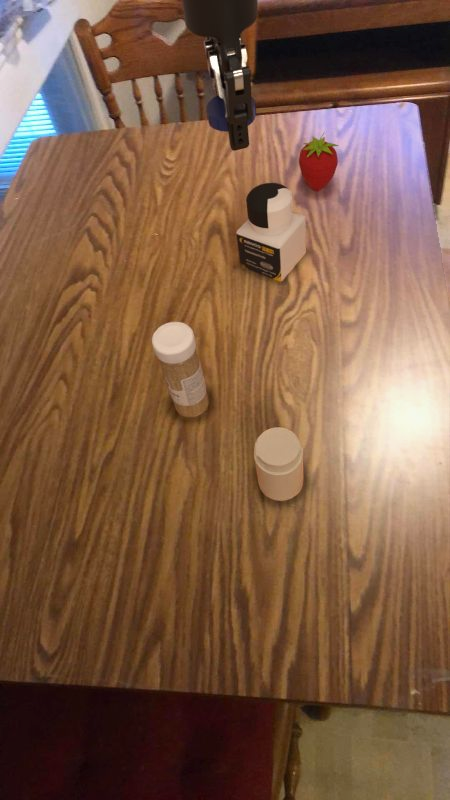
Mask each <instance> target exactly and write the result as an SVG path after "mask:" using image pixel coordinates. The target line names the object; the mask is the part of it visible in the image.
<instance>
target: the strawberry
mask: <svg viewBox="0 0 450 800" xmlns="http://www.w3.org/2000/svg"><path fill="white" fill-rule="evenodd" d="M324 135H325V131H324V132H323V133H322V134H321V136H320V138H319V139H317V138H316V137H315V136H312V141H309V142H303V145H304V146H303V147H302V149H301V150H300V152H299V156H298V166H299V169H300V174H301V176H302V177H303V179H304V180H305V182H306V184H307V185H308V186H309V187H310V188H311V190H313V191H315V192H320V191H322V190H323V189H324V188H325V187H326V186H327V185H328V184H329V183H330V182H331V181H332V179H333V177H334V176H335V173H336V170H337V167H338V164H339V159H338V153H337V150H336V149H335V148H334V147H339V144H336V143H331V142H327V141H326V136H324Z"/></svg>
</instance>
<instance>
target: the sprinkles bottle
mask: <svg viewBox="0 0 450 800" xmlns="http://www.w3.org/2000/svg"><path fill="white" fill-rule="evenodd" d="M151 345H152V348H153V351H154V354H155V356H156V358H157V359H158V360H159V363H160V366H161V369H162V373H163V376H164V379H165V382H166V386H167V388H168V391H169V394H170V397H171V399H172V402H173V405H174V408H175V411H176V412H177V413H178V414H179V415H180V416H181V417H184V418H196V417H198V416H200V415H202V414H204V412H206V411H207V410H208V407H209V403H210V402H209V401H210V400H209V396H208V392H207V386H206V385H207V384H206V381H205V377H204V373H203V369H202V364H201V361H200V358H199V355H198V352H197V351H198V350H197V341H196V337H195V334H194V331H193V329H192V328H191V327H190V325H188V324H187V323H185V322H181V321H170V322H166V323H164V324H162V325H160V326H158V328H157V329H156V330H155V331H154V333H153V334H152V337H151Z"/></svg>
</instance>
